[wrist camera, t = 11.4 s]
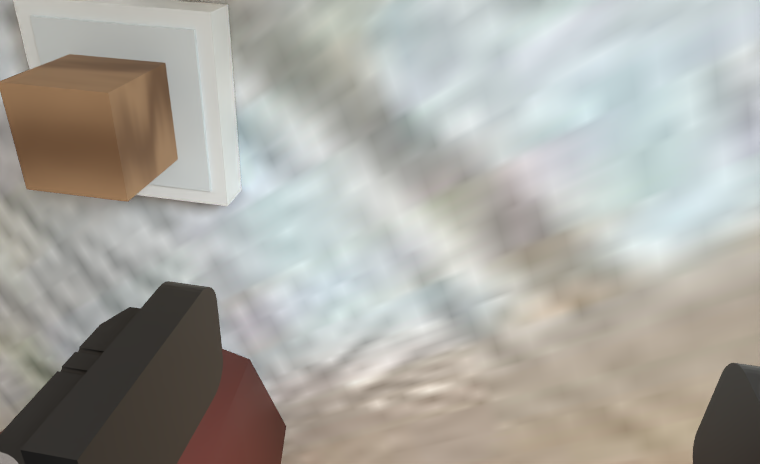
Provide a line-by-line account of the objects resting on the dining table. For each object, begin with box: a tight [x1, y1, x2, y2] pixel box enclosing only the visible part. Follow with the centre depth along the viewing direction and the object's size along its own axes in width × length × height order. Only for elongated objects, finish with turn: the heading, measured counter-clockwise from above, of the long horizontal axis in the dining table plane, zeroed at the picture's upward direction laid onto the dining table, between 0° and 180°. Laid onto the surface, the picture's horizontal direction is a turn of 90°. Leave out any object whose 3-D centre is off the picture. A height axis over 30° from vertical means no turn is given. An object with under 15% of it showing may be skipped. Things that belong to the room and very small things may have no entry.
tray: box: [13, 0, 242, 206], centre depth 38 cm, size 12×12×3 cm
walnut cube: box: [0, 54, 178, 201], centre depth 35 cm, size 6×6×6 cm
